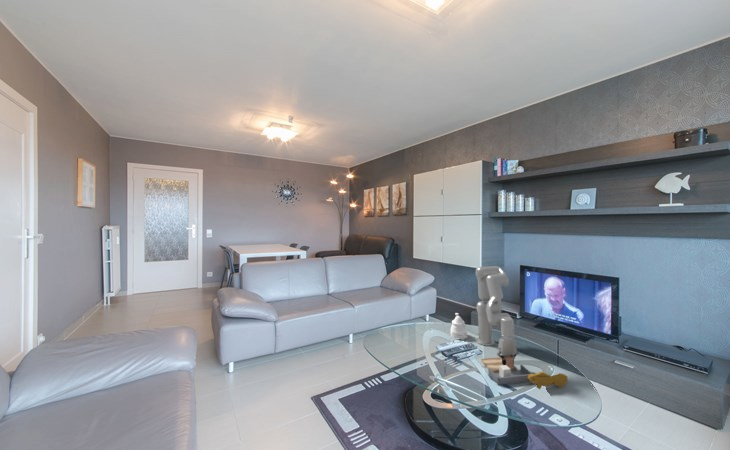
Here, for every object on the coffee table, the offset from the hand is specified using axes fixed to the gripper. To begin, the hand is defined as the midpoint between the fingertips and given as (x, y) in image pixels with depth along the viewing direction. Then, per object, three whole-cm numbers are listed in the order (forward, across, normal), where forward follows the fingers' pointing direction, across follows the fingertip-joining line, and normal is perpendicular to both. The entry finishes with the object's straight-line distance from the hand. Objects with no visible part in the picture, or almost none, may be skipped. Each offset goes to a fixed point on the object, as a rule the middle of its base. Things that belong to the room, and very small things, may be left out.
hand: (508, 364), depth 186 cm
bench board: (+3, +4, -3) cm, 6 cm away
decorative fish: (+3, -10, +22) cm, 24 cm away
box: (+3, +4, +10) cm, 11 cm away
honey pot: (+3, +10, -50) cm, 52 cm away
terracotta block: (+1, 0, 0) cm, 1 cm away
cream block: (+2, +8, +10) cm, 13 cm away
